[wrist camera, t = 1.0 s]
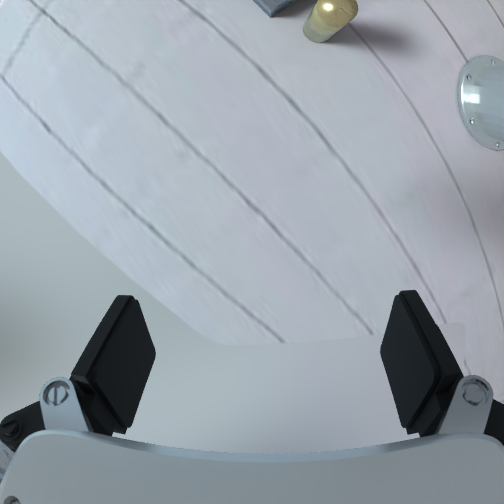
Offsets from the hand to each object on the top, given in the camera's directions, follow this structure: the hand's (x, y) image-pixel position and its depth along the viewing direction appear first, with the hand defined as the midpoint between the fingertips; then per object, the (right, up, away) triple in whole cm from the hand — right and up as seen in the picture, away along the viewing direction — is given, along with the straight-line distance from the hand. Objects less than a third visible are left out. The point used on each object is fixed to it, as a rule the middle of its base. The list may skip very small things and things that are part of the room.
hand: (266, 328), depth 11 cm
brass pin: (+6, +26, +14) cm, 30 cm away
